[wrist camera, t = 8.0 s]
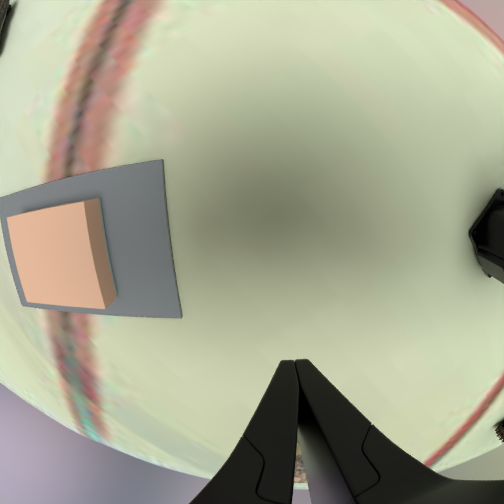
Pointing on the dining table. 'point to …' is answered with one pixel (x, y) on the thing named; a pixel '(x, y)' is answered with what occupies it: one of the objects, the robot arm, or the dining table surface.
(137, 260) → the mat
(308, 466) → the robot arm
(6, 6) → the toy car
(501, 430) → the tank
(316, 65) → the dining table surface
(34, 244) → the block
